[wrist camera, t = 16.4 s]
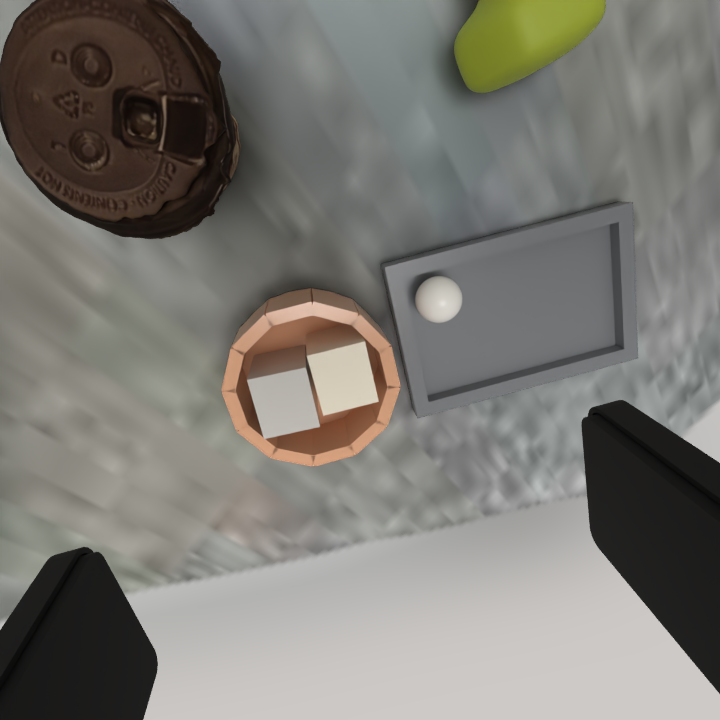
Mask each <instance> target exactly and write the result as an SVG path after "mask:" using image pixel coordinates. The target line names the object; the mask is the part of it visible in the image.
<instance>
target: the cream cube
mask: <svg viewBox="0 0 720 720" xmlns="http://www.w3.org/2000/svg"><path fill="white" fill-rule="evenodd" d="M306 352H307V359H308V362H309V366H310V370H311V373H312V377H313V380H314V384H315V388H316V391H317V395H318V398H319V402H320V406H321V409H322V413H323V416H324V415H328V414H332V413H336V412H340V411H344V410H348V409H352V408H356V407H360V406H364V405H368V404H372V403H376V402H379V401H378V396H377V392H376V387H375V383H374V379H373V374H372V370H371V366H370V361H369V357H368V352H367V348H366V344H365V340H364V338H363V336H362V335H361V334H360V333H359V332H358V331H357V330H356V329H355V328H354V327H353V326H352V325H348V324H344V325H340V326H336V327H332V328H328V329H324V330H320V331H316V332H312V333H308V334H306Z"/></svg>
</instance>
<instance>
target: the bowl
mask: <svg viewBox="0 0 720 720" xmlns="http://www.w3.org/2000/svg"><path fill="white" fill-rule="evenodd" d="M344 324H348V325H352V326H353V327H354V328H355V329H356V330H357V331H358V332H359V333H360V334H361V335H362V336H363V338H364V340H365V344H366V348H367V352H368V357H369V361H370V366H371V370H372V374H373V379H374V383H375V387H376V392H377V396H378V401H379V402H376V403H372V404H368V405H364V406H360V407H356V408H352V409H348V410H344V411H340V412H336V413H332V414H328V415H324V416H323V413H322V409H321V406H320V402H319V398H318V408H319V420H320V427H317V428H312V429H308V430H303V431H299V432H294V433H290V434H285V435H281V436H276V437H272V438H267V439H264V437H263V434H262V430H261V427H260V423H259V420H258V417H257V413H256V410H255V406H254V403H253V399H252V396H251V392H250V389H249V385H248V382H247V378H248V374H249V371H250V367H251V363H252V360H253V356H254V355H257V354H261V353H266V352H271V351H276V350H280V349H285V348H290V347H294V346H299V345H304V344H305V346H306V334H308V333H312V332H316V331H320V330H324V329H328V328H332V327H336V326H340V325H344ZM315 389H316V388H315ZM399 391H400V381H399V377H398V373H397V368H396V364H395V359H394V355H393V351H392V346H391V345H390V343H389V341H388V339H387V338H386V336H385V334H384V333H383V331H382V329H381V327H380V326H379V325H378V324H377V323H376V322H375V321H374V320H373V319H372V318H371V317H370V316H369V315H368V314H367V312H366V311H365V310H363V309H362V308H361V307H360V306H359V305H358V304H357V303H356V302H355V301H354V300H352V299H351V298H348V297H344V296H342V295H340V294H337V293H334V292H330V291H325V290H319V289H314V288H311V289H310V288H307V289H302V290H295V291H290V292H287V293H284V294H281V295H279V296H277V297H273V298H269V300H267V301H266V302H265V303H264V304H263V305H262V306H260V307H259V308H258V309H257V310H256V311H255V312H254V313H253V314H252V315H251V316H250V317H249V319H248V320H247V321H246V322H245V323H244V324H243V325H242V326H241V327H240V328H239V330H238V332H237V335H236V337H235V339H234V342H233V344H232V347H231V349H230V354H229V358H228V363H227V367H226V372H225V376H224V381H223V385H222V394H223V397H224V400H225V402H226V405H227V408H228V410H229V413H230V416H231V418H232V421H233V424H234V426H235V429H236V431H237V430H238V431H237V432H238V433H239V434H240V435H242V436H243V437H244V438H245V439H247V440H248V441H249V442H250V443H252V444H253V445H254V446H255V447H257V448H258V449H259V450H260V451H262V452H263V453H264V454H265V455H267V456H268V457H269V458H270V457H271V459H276V460H281V461H286V462H291V463H297V464H302V465H307V466H312V467H313V464H314V466H318V465H322V464H325V463H329V462H333V461H336V460H340V459H343V458H347V457H351V456H354V455H355V454H357V453H359V452H360V451H361V450H362V449H363V448H364V447H365V446H366V445H367V444H369V443H370V442H371V441H372V440H373V439H374V438H375V437H376V436H377V435H379V434H380V433H381V432H382V431H383V430H384V429H385V428H386V426H388V423H389V420H390V417H391V414H392V411H393V408H394V406H395V403H396V400H397V397H398V394H399ZM316 393H317V391H316ZM317 397H318V395H317ZM354 453H355V454H354Z"/></svg>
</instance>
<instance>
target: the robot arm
mask: <svg viewBox="0 0 720 720" xmlns="http://www.w3.org/2000/svg"><path fill="white" fill-rule="evenodd" d="M582 437H583V449H584V461H585V474H586V486H587V498H588V509H589V522H590V531H591V534H592V537H593V539H594V541H595V543H596V545H597V546H598V548H599V549H600V550H601V552H602V553H603V554H604V555H605V556H606V558H607V559H608V560H609V561H610V562H611V563H612V565H613V566H614V567H615V568H616V570H617V571H618V572H619V573H620V574H621V576H622V577H623V578H624V579H625V580H626V582H627V583H628V584H629V585H630V586H631V588H632V589H633V590H634V591H635V592H636V594H637V595H638V596H639V597H640V598H641V600H642V601H643V602H644V603H645V604H646V606H647V607H648V608H649V609H650V610H651V612H652V613H653V614H654V615H655V616H656V618H657V619H658V620H659V621H660V623H661V624H662V625H663V626H664V627H665V629H666V630H667V631H668V632H669V633H670V635H671V636H672V637H673V638H674V639H675V641H676V642H677V643H678V644H679V645H680V647H681V648H682V649H683V650H684V651H685V653H686V654H687V655H688V656H689V657H690V659H691V660H692V661H693V662H694V663H695V665H696V666H697V667H698V668H699V669H700V671H701V672H702V673H703V674H704V675H705V677H706V678H707V679H708V680H709V681H710V683H711V684H712V685H713V686H714V687H715V689H716V690H717V691H718V692H719V693H720V463H719V462H717V461H716V460H714V459H713V458H711V457H710V456H708V455H707V454H705V453H704V452H702V451H701V450H699V449H698V448H696V447H695V446H693V445H692V444H690V443H689V442H687V441H685V440H684V439H682V438H681V437H679V436H678V435H676V434H675V433H673V432H672V431H670V430H669V429H667V428H666V427H664V426H663V425H661V424H660V423H658V422H656V421H655V420H653V419H652V418H650V417H649V416H647V415H646V414H644V413H643V412H641V411H640V410H638V409H637V408H635V407H634V406H632V405H630V404H629V403H627V402H626V401H623V400H618V401H614V402H610V403H607V404H603V405H599V406H596V407H592V408H591V409H590V410H589V413H588V417H585V418H583V420H582ZM157 666H158V662H157V656H156V652H155V650H154V648H153V646H152V644H151V642H150V641H149V639H148V637H147V635H146V633H145V631H144V630H143V628H142V626H141V624H140V622H139V620H138V619H137V617H136V615H135V613H134V611H133V610H132V608H131V606H130V604H129V602H128V600H127V599H126V597H125V595H124V593H123V591H122V589H121V588H120V586H119V584H118V582H117V580H116V578H115V577H114V575H113V573H112V571H111V569H110V567H109V566H108V564H107V562H106V560H105V558H104V557H103V555H102V554H100V553H99V552H93V551H92V550H91V549H89V548H88V547H82V548H79V549H75V550H71V551H68V552H64V553H60V554H57V555H54V556H52V557H50V558H49V559H48V560H47V562H46V563H45V565H44V566H43V568H42V569H41V570H40V572H39V573H38V575H37V576H36V578H35V579H34V581H33V582H32V584H31V585H30V587H29V588H28V590H27V591H26V593H25V594H24V596H23V597H22V599H21V600H20V602H19V603H18V605H17V606H16V608H15V609H14V611H13V612H12V614H11V615H10V616H9V618H8V619H7V621H6V622H5V624H4V625H3V627H2V629H1V630H0V720H143V719H144V715H145V712H146V708H147V705H148V701H149V698H150V695H151V691H152V688H153V684H154V681H155V677H156V674H157Z"/></svg>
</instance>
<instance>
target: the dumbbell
mask: <svg viewBox="0 0 720 720" xmlns="http://www.w3.org/2000/svg"><path fill="white" fill-rule="evenodd" d="M605 7H606V1H605V0H479V1H478V4H477V6H476V8H475V10H474V12H473V13H472V15H471V16H470V17H469V19H468V20H467V21H466V23H465V24H464V25H463V27H462V28H461V30H460V31H459V33H458V35H457V37H456V40H455V44H454V53H455V58H456V62H457V65H458V68H459V70H460V73H461V75H462V78H463V80H464V82H465V84H466V86H467V87H468V88H469V89H470V90H471V91H474V92H477V93H487V92H491V91H494V90H497V89H499V88H502V87H504V86H507V85H509V84H512V83H514V82H516V81H518V80H520V79H522V78H524V77H526V76H528V75H530V74H532V73H534V72H536V71H538V70H539V69H541V68H543V67H545V66H547V65H548V64H550V63H552V62H553V61H555V60H557V59H558V58H560V57H561V56H563V55H565V54H566V53H568V52H569V51H570V50H572V49H573V48H574V47H576V46H577V45H578V44H580V43H581V42H582V41H583V40H584V39H585V38H586V37H587V36H588V35H589V34H590V33H591V32H592V31H593V30H594V29H595V28H596V26H597V25H598V24H599V22H600V21H601V19H602V17H603V15H604V12H605Z"/></svg>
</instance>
